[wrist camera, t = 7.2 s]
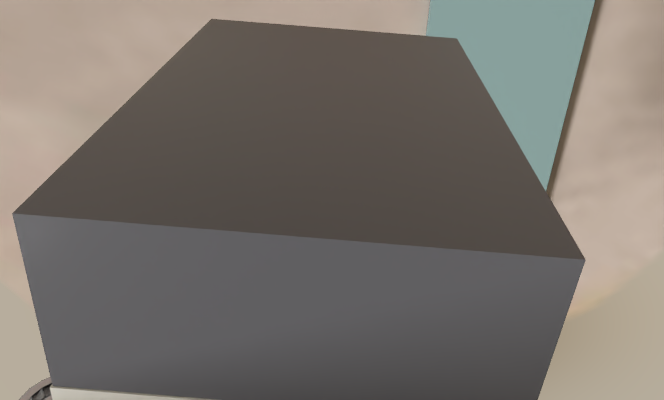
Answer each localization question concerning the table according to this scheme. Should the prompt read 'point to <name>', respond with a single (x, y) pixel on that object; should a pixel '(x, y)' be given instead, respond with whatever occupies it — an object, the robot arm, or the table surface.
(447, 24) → the rubber mat
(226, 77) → the banded grey block
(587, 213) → the table surface
